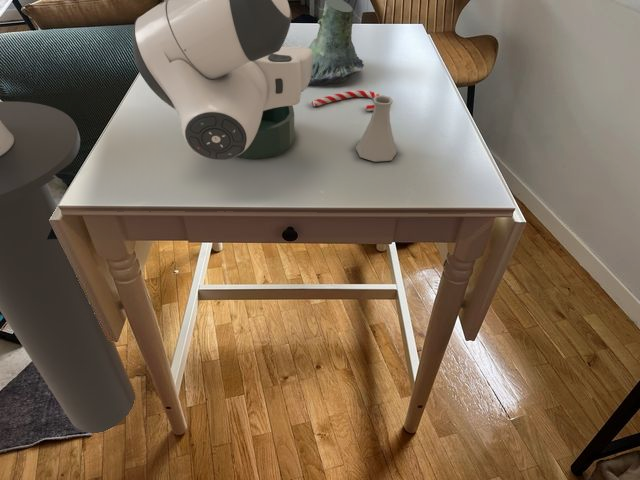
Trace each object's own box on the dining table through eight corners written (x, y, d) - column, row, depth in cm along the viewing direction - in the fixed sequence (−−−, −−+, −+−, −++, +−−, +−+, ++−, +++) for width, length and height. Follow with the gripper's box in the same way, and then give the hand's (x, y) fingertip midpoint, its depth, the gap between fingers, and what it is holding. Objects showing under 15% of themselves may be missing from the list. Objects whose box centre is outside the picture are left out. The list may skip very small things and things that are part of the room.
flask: (354, 160, 84) (359, 107, 77) (357, 139, 89) (362, 87, 82) (396, 165, 83) (405, 111, 77) (396, 143, 89) (405, 91, 82)
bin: (217, 160, 82) (213, 131, 79) (219, 121, 92) (216, 94, 89) (296, 157, 84) (297, 129, 80) (290, 119, 94) (290, 92, 90)
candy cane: (308, 93, 99) (377, 87, 103) (308, 99, 100) (376, 93, 103) (317, 111, 94) (390, 104, 97) (317, 117, 95) (389, 110, 98)
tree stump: (289, 51, 120) (308, -26, 108) (362, 83, 119) (390, 10, 107) (258, 76, 106) (276, -8, 94) (341, 113, 105) (370, 32, 93)
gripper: (167, 98, 69) (189, 60, 80) (309, 105, 69) (313, 66, 80) (158, 54, 65) (183, 20, 75) (310, 61, 65) (314, 26, 75)
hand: (251, 44), depth 78 cm, fingers closed on bottle, 6 cm apart
